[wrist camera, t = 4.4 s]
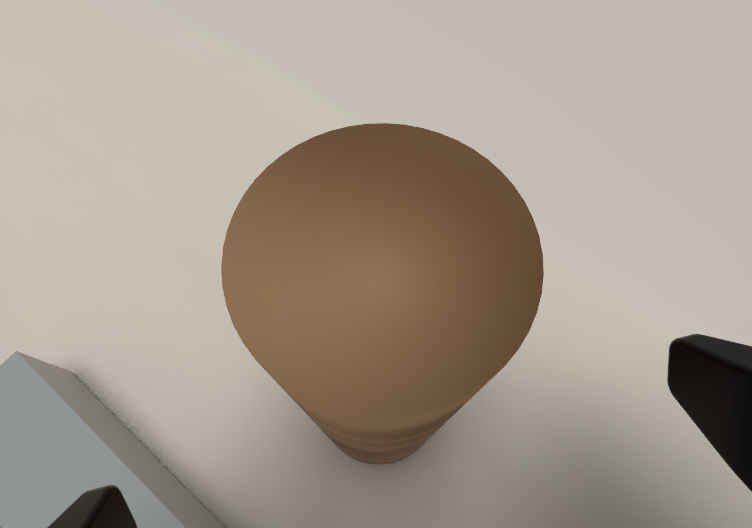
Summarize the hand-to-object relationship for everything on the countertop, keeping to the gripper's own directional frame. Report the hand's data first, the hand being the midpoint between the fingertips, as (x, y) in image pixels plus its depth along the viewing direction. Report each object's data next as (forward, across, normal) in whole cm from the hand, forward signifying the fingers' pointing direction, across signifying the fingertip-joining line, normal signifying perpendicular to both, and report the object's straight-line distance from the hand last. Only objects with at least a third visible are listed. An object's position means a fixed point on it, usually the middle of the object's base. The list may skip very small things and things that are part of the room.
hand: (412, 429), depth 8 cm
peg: (+8, 0, +5) cm, 10 cm away
